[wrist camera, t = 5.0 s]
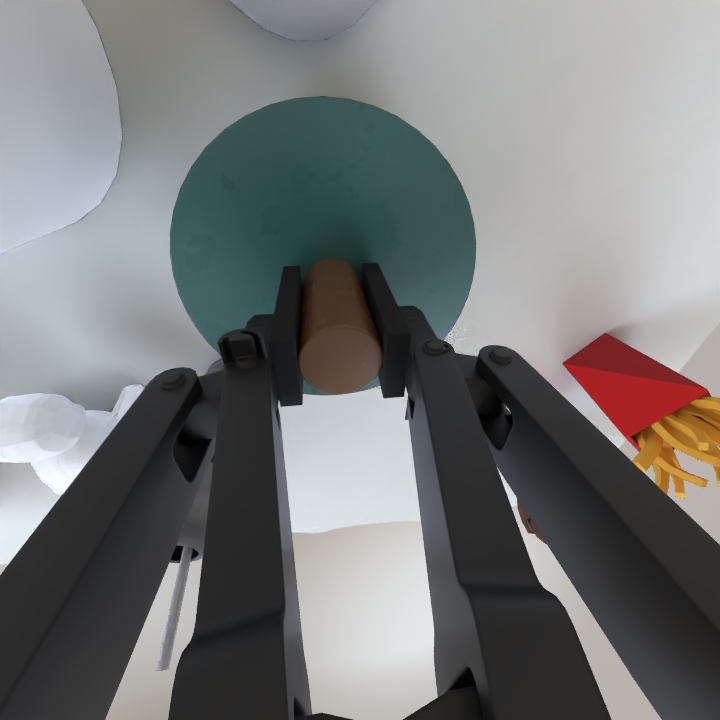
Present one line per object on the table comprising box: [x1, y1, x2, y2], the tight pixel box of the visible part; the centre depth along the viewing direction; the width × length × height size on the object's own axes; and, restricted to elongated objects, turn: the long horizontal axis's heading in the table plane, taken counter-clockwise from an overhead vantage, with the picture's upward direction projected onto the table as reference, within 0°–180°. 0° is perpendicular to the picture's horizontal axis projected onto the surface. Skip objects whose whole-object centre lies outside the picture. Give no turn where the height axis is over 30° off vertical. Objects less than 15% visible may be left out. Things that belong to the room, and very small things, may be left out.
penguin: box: [0, 384, 145, 494], centre depth 27 cm, size 9×8×15 cm
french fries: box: [562, 333, 720, 499], centre depth 28 cm, size 9×8×15 cm
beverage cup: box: [156, 359, 224, 671], centre depth 22 cm, size 7×7×20 cm
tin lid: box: [170, 96, 476, 395], centre depth 14 cm, size 15×15×8 cm
